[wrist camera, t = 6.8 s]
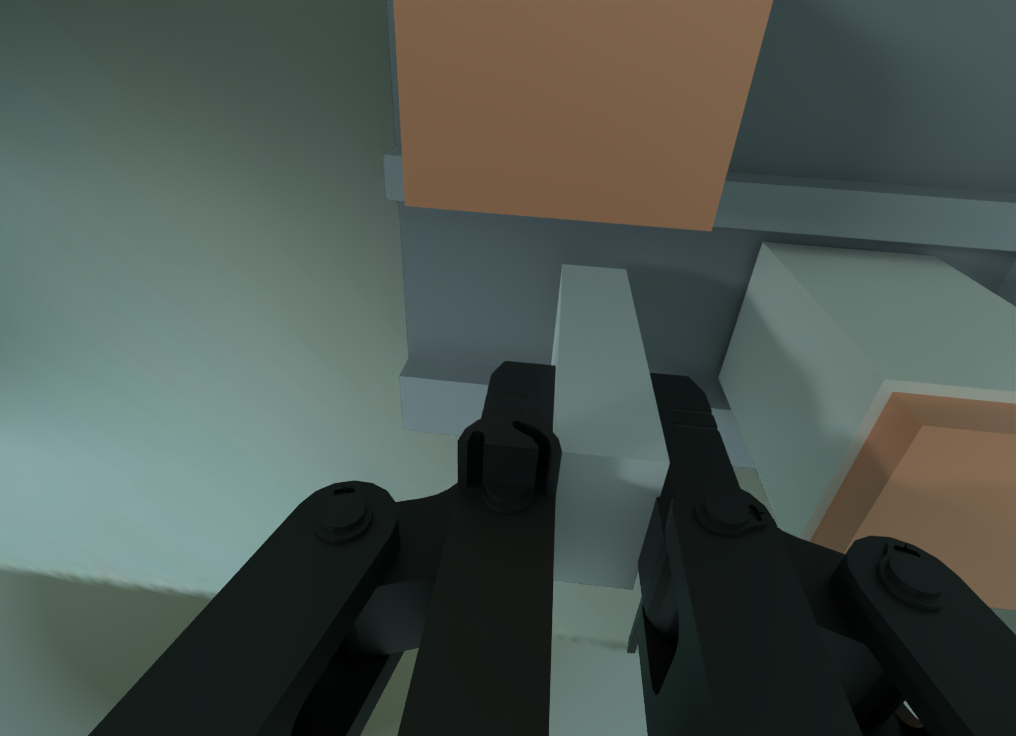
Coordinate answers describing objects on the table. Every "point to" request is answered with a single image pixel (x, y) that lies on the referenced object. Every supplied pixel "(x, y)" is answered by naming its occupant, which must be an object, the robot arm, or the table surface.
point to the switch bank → (743, 202)
